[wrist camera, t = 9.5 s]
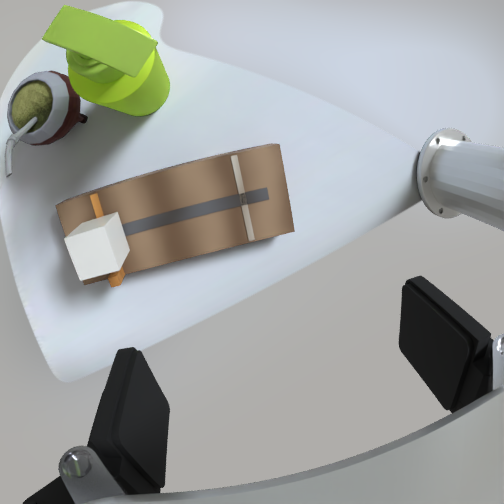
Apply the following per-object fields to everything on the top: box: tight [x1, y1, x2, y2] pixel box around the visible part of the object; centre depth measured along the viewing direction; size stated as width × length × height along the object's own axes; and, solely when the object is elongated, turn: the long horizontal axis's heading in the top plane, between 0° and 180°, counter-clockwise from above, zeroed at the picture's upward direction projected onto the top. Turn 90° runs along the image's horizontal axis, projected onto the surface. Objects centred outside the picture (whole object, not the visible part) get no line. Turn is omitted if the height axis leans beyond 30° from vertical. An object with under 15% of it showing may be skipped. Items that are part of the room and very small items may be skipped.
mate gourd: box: [5, 71, 88, 177], centre depth 20 cm, size 8×8×15 cm
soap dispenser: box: [42, 5, 170, 116], centre depth 18 cm, size 6×7×20 cm
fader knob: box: [64, 212, 130, 281], centre depth 26 cm, size 4×4×5 cm
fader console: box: [56, 144, 294, 287], centre depth 30 cm, size 23×9×6 cm, turn 102°
